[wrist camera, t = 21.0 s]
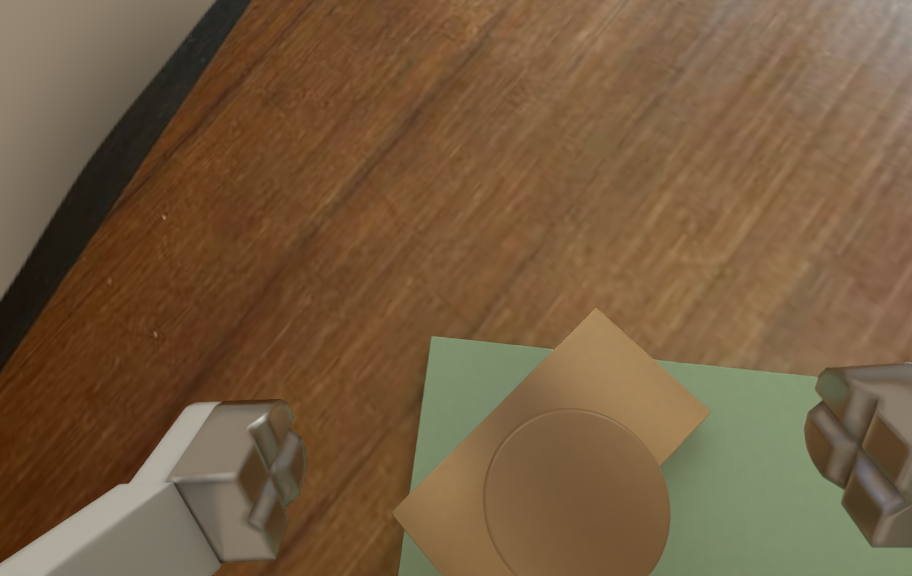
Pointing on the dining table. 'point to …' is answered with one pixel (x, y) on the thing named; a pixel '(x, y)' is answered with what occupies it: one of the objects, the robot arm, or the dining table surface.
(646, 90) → the dining table surface
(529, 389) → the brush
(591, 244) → the dining table surface
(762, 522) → the mat
